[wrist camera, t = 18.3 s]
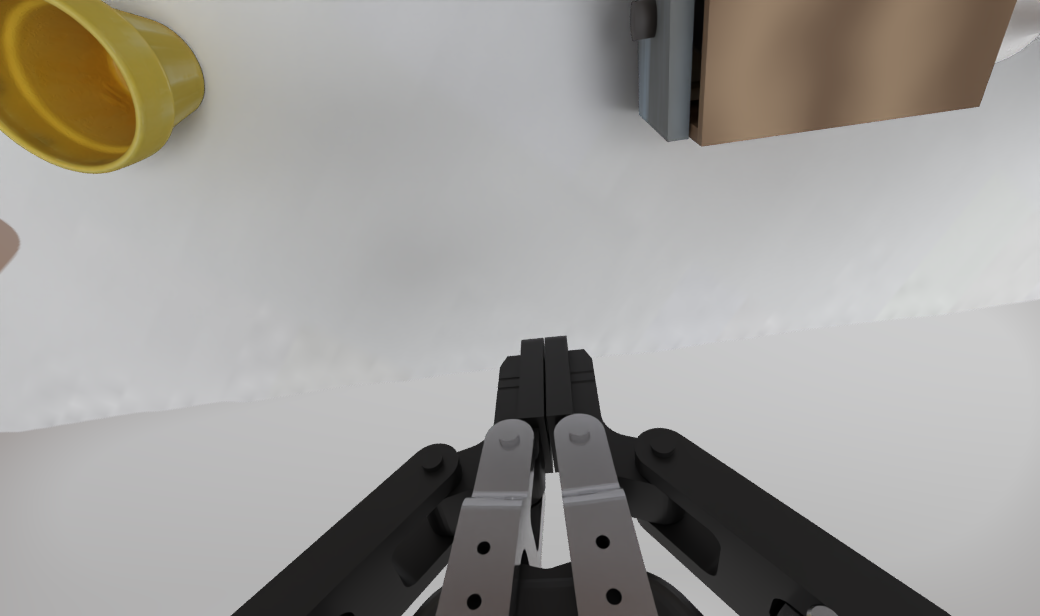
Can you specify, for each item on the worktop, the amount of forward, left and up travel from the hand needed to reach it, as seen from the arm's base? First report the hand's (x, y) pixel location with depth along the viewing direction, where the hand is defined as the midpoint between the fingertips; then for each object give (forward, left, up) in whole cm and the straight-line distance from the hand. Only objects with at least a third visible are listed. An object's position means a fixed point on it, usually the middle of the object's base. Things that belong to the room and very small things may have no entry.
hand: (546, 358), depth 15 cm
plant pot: (+28, -11, -27) cm, 40 cm away
